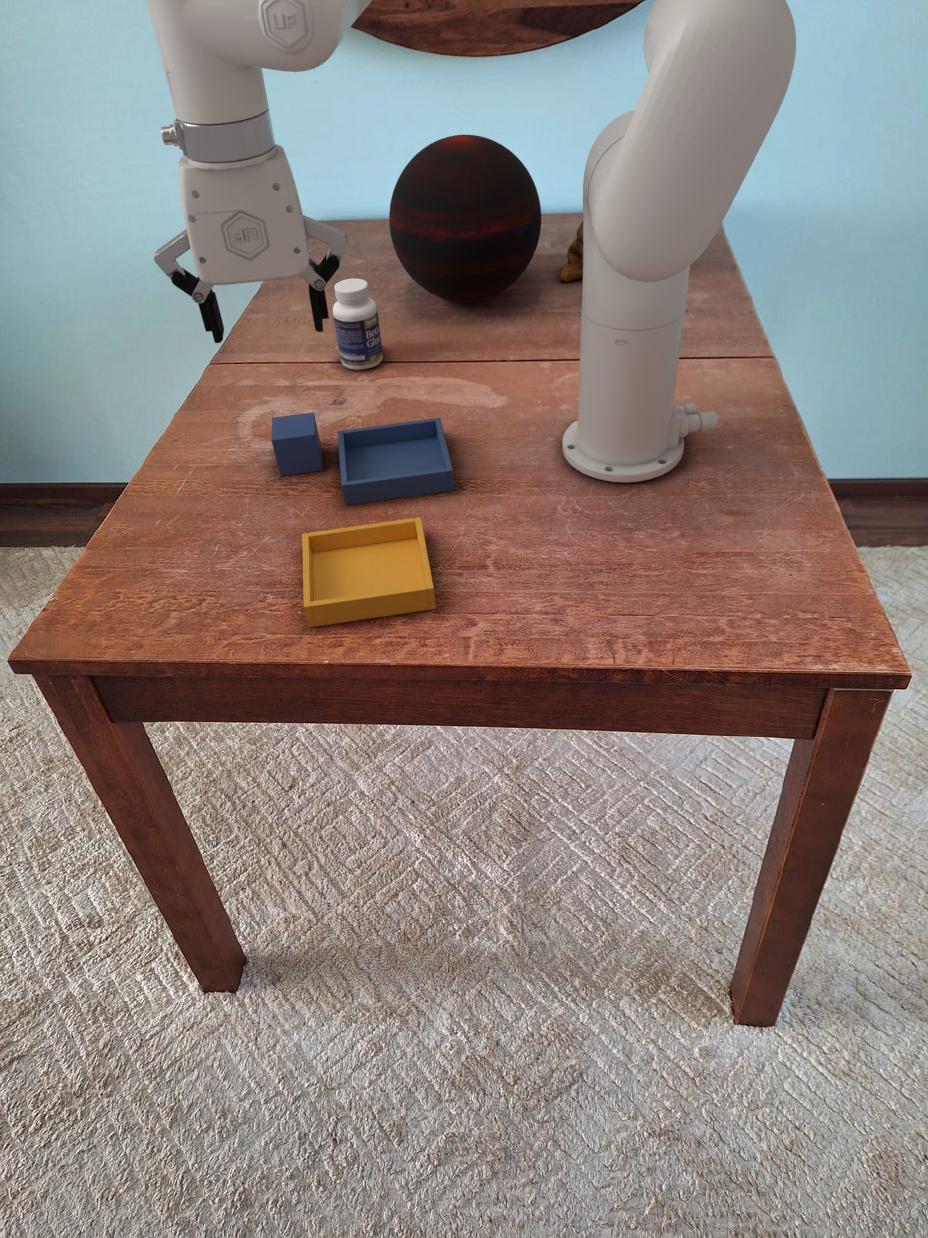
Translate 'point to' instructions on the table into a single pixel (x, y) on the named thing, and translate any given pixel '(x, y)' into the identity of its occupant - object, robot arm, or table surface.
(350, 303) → the pill bottle
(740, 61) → the robot arm
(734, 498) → the table surface
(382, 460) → the blue tray
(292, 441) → the blue block
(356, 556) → the mustard tray
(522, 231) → the decorative orb
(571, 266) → the stuffed squirrel
